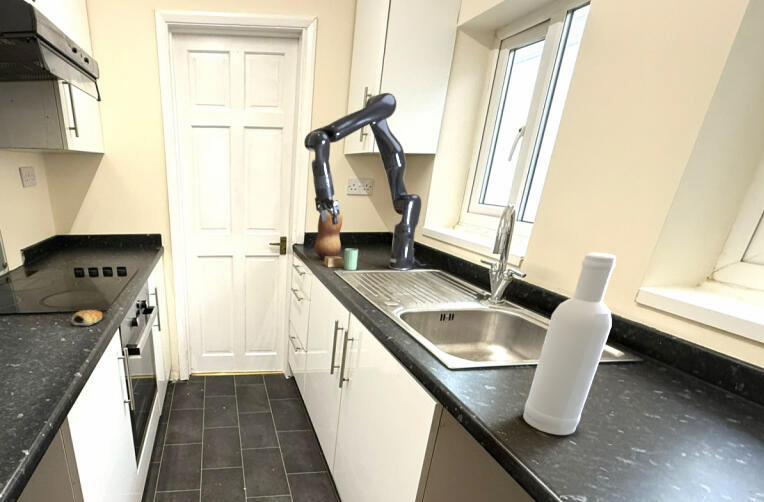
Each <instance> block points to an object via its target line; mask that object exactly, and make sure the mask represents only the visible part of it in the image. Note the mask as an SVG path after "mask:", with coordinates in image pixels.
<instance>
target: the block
mask: <svg viewBox="0 0 764 502" xmlns="http://www.w3.org/2000/svg"><path fill="white" fill-rule="evenodd" d="M323 261H324V263H323V265H324V266H326V267H327V268H343V262H344V257H341V256H340V255H337V256H326V257H325V260H323Z"/></svg>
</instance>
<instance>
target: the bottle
mask: <svg viewBox="0 0 764 502" xmlns="http://www.w3.org/2000/svg"><path fill="white" fill-rule="evenodd" d="M616 259H617V257H616V255H615V254H611V253H603V252H588V253H586V254H585V256H584V259H583V260H582V263H581V271H580V273H579V277H578V280H577V283H576V287H575V290H574V294H573V296H572V297H570V298H568V299H566V300H564V301H563V302H561V303H560V304H559V305H558V306H557V307H556V308H555V310H553V312H552V314H551V316H550V320H549V323H548V327H547V330H546V334H545V337H544V341H543V345H542V349H541V352H540V355H539V358H538V363H537V365H536V368H535V372H534V376H533V380H532V383H531V387H530V389H529V394H528V397H527V399H526V402H525V405H524V411H523V414H522V415H523V416H522V417H523V419H524V421H525V422H526V423H527V424H528V425H530V426H531V427H533V428H534V429H536V430H538V431H541V432H543V433H547V434H549V435H550V434H551V435H556V436H568V435H572V434H574V432H576V429H577V426H578V425H579V423H580V420H581V415H582V412H583V409H584V406H585V403H586V400H587V398H588V395H589V391H590V389H591V386H592V384H593V380H594V377H595V374H596V372H597V369H598V366H599V363H600V360H601V357H602V354H603V351H604V349H605V346H606V343H607V340H608V337H609V334H610V331H611V328H612V314H611V310H610V309H609V308H608V306H607V305H606V304H605V303H604V301H603V300H604V295H605V293H606V290H607V287H608V284H609V281H610V277H611V275H612V271H613V270H614V268H615V267H616Z"/></svg>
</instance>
